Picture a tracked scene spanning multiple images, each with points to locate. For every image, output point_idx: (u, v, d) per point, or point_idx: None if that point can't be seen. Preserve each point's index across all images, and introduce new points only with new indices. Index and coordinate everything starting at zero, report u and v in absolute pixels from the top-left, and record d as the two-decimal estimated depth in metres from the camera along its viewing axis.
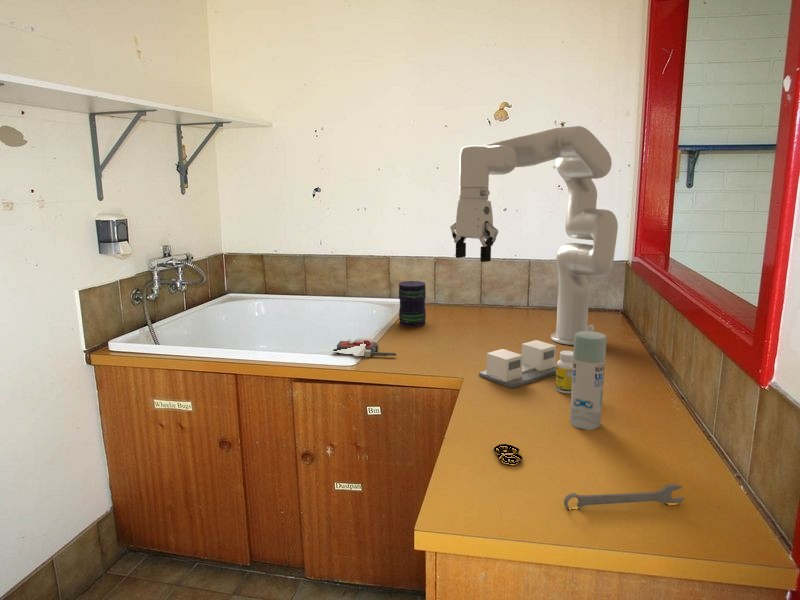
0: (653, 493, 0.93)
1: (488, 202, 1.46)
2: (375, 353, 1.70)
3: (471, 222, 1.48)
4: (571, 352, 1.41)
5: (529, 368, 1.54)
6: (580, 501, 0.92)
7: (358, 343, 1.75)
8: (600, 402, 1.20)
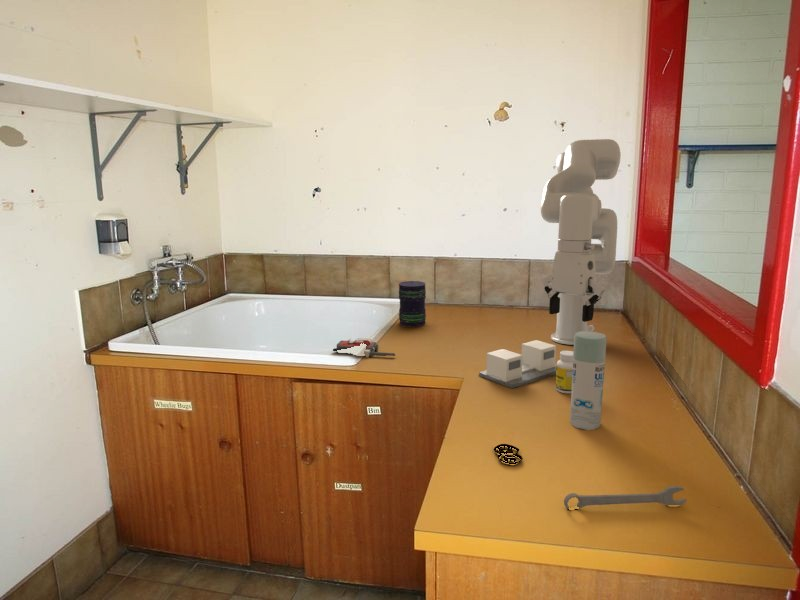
0: (654, 494, 0.92)
1: (592, 256, 1.32)
2: (374, 353, 1.70)
3: (572, 277, 1.34)
4: (571, 352, 1.41)
5: (529, 368, 1.54)
6: (580, 501, 0.92)
7: (358, 343, 1.76)
8: (600, 402, 1.20)
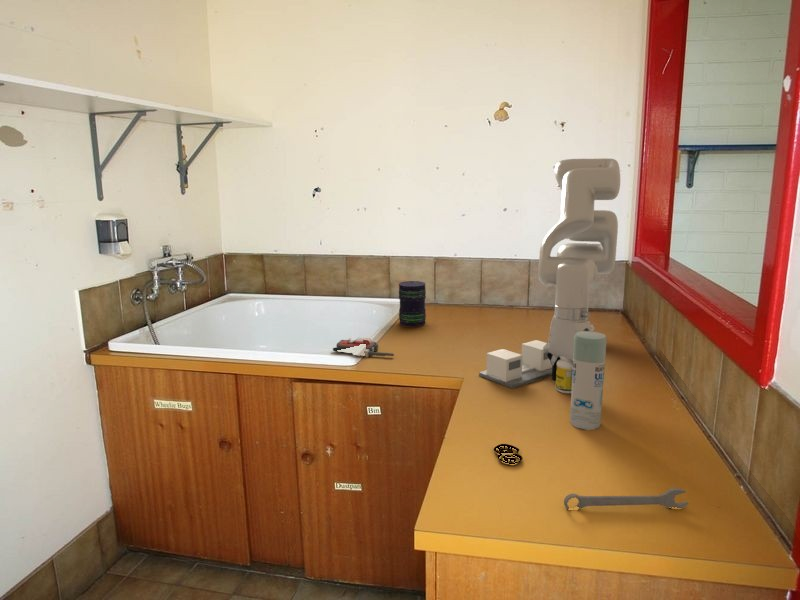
0: (656, 496, 0.92)
1: (588, 323, 1.36)
2: (373, 353, 1.71)
3: (568, 343, 1.37)
4: None
5: (529, 368, 1.54)
6: (580, 502, 0.92)
7: (358, 342, 1.76)
8: (600, 402, 1.20)
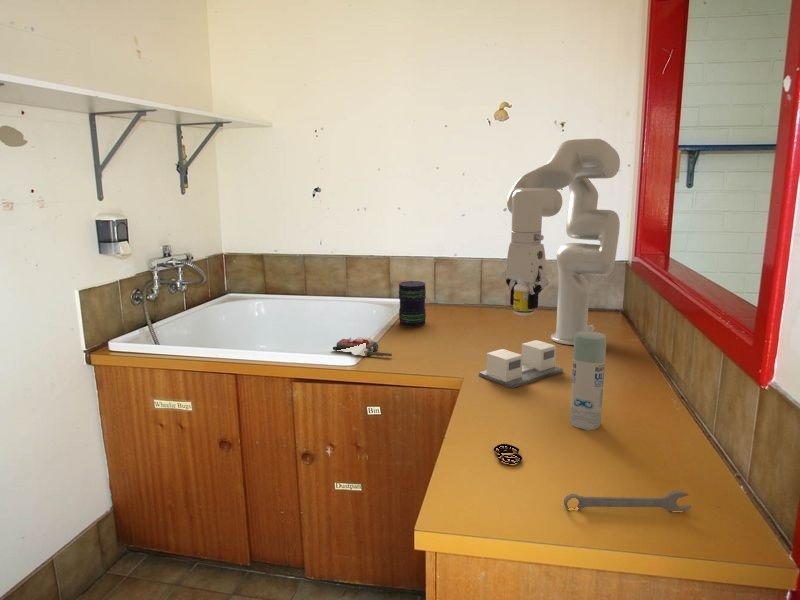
0: (657, 499, 0.91)
1: (542, 246, 1.44)
2: (371, 352, 1.71)
3: (523, 266, 1.45)
4: None
5: (529, 368, 1.54)
6: (580, 502, 0.92)
7: (358, 342, 1.76)
8: (600, 402, 1.20)
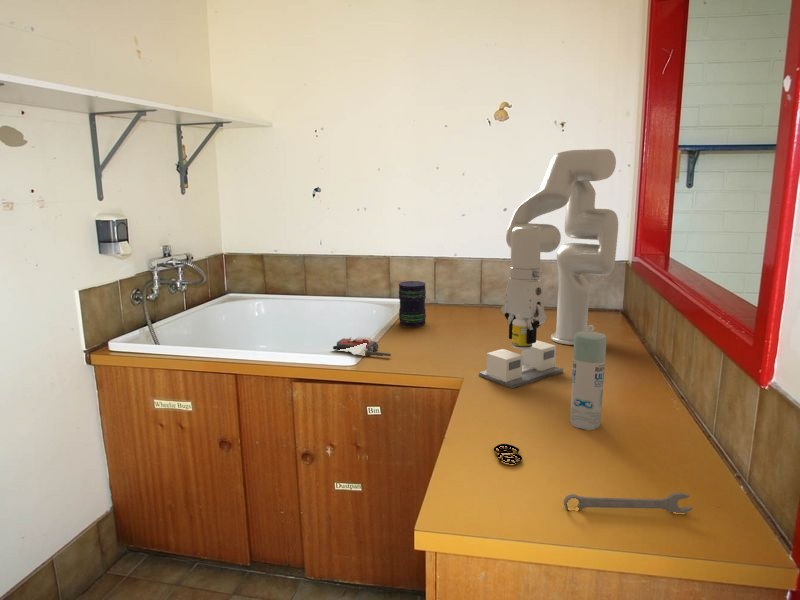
0: (658, 500, 0.90)
1: (540, 283, 1.46)
2: (370, 352, 1.71)
3: (522, 302, 1.47)
4: None
5: (529, 368, 1.54)
6: (580, 502, 0.92)
7: (358, 341, 1.77)
8: (600, 402, 1.20)
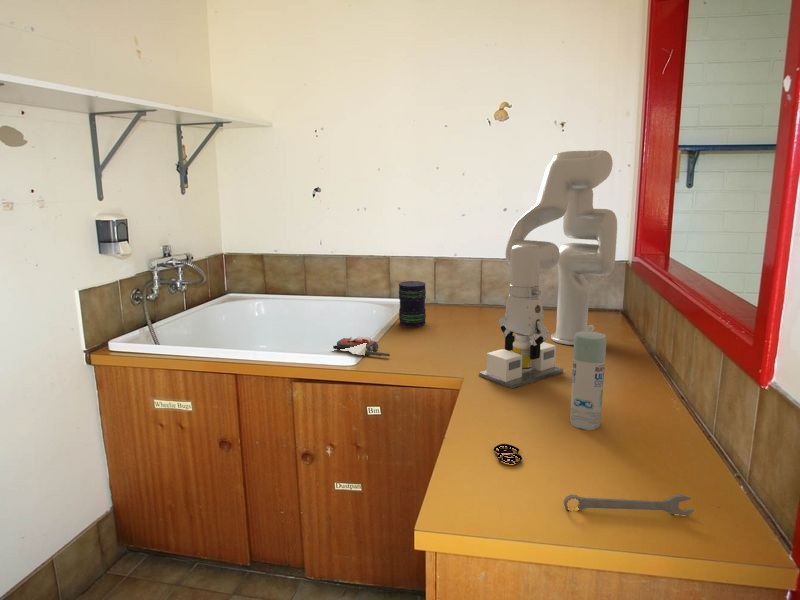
0: (659, 502, 0.90)
1: (539, 301, 1.47)
2: (370, 352, 1.71)
3: (521, 319, 1.48)
4: None
5: None
6: (580, 503, 0.91)
7: (358, 341, 1.77)
8: (600, 402, 1.20)
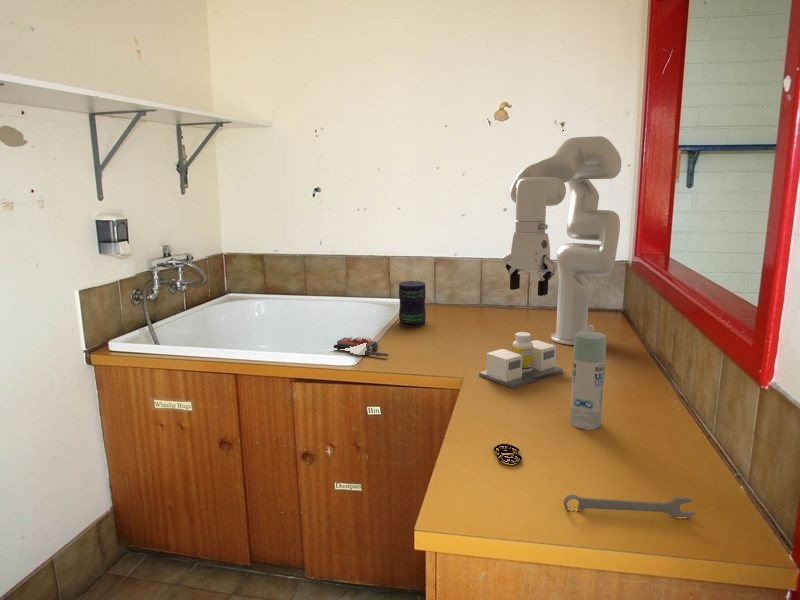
0: (660, 504, 0.90)
1: (546, 236, 1.44)
2: (369, 352, 1.71)
3: (528, 255, 1.46)
4: (525, 333, 1.53)
5: None
6: (580, 503, 0.91)
7: (358, 341, 1.77)
8: (600, 402, 1.20)
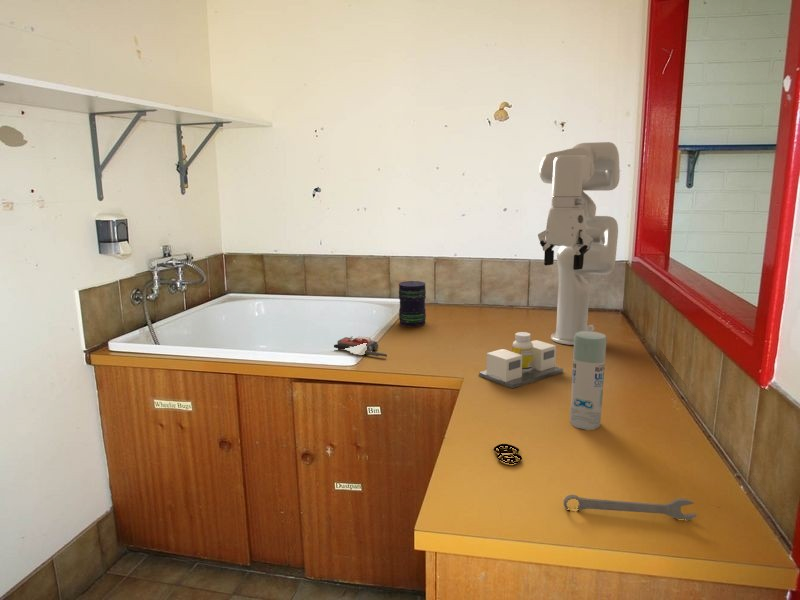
0: (660, 505, 0.89)
1: (582, 211, 1.48)
2: (368, 352, 1.71)
3: (564, 230, 1.50)
4: (525, 333, 1.53)
5: None
6: (580, 503, 0.91)
7: (358, 341, 1.78)
8: (600, 402, 1.20)
